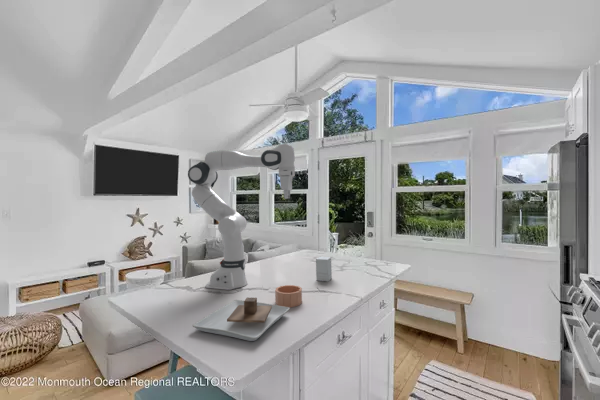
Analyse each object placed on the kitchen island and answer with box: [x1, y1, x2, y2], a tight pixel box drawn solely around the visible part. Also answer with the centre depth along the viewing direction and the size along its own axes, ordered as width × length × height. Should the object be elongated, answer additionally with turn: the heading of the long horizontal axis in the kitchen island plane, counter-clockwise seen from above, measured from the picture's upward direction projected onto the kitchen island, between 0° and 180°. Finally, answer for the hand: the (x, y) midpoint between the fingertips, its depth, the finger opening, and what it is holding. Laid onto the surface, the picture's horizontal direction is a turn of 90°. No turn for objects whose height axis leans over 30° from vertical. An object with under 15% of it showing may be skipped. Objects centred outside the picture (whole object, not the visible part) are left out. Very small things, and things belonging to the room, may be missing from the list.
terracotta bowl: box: [274, 284, 303, 308], centre depth 131 cm, size 12×12×6 cm
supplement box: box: [315, 256, 333, 282], centre depth 166 cm, size 7×7×13 cm
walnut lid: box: [227, 297, 272, 323], centre depth 110 cm, size 14×14×6 cm
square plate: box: [192, 299, 291, 342], centre depth 110 cm, size 27×27×4 cm
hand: (287, 198), depth 155 cm, fingers open, 8 cm apart
